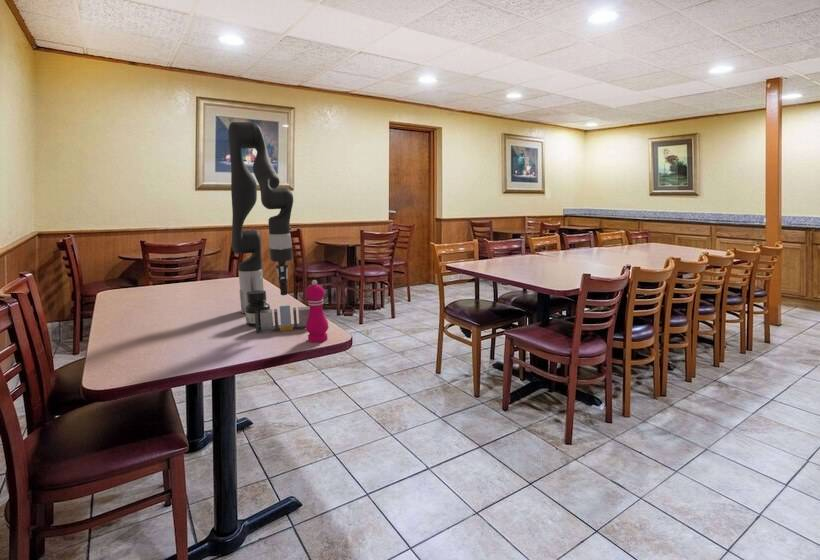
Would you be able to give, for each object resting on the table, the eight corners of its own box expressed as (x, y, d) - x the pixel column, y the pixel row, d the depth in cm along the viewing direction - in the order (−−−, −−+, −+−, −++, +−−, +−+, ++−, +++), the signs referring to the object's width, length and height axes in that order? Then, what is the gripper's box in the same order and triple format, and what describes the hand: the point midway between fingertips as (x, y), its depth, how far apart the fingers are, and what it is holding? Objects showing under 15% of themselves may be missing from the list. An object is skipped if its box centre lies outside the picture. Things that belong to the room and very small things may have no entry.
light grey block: (281, 326, 172) (279, 306, 172) (281, 324, 177) (279, 305, 177) (291, 325, 173) (289, 305, 173) (291, 323, 178) (289, 304, 177)
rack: (256, 333, 170) (254, 313, 169) (256, 329, 175) (255, 310, 174) (316, 328, 175) (314, 309, 174) (315, 324, 180) (314, 306, 178)
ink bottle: (245, 321, 186) (242, 290, 184) (269, 318, 189) (266, 288, 187) (247, 328, 177) (245, 295, 175) (272, 325, 181) (270, 293, 178)
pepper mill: (317, 335, 166) (314, 277, 163) (333, 338, 162) (330, 279, 159) (302, 341, 160) (298, 280, 157) (318, 344, 156) (314, 282, 153)
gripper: (270, 244, 176) (273, 289, 179) (268, 249, 162) (272, 297, 165) (291, 243, 177) (294, 287, 181) (292, 248, 164) (295, 296, 167)
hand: (283, 292), depth 173 cm, fingers open, 8 cm apart
